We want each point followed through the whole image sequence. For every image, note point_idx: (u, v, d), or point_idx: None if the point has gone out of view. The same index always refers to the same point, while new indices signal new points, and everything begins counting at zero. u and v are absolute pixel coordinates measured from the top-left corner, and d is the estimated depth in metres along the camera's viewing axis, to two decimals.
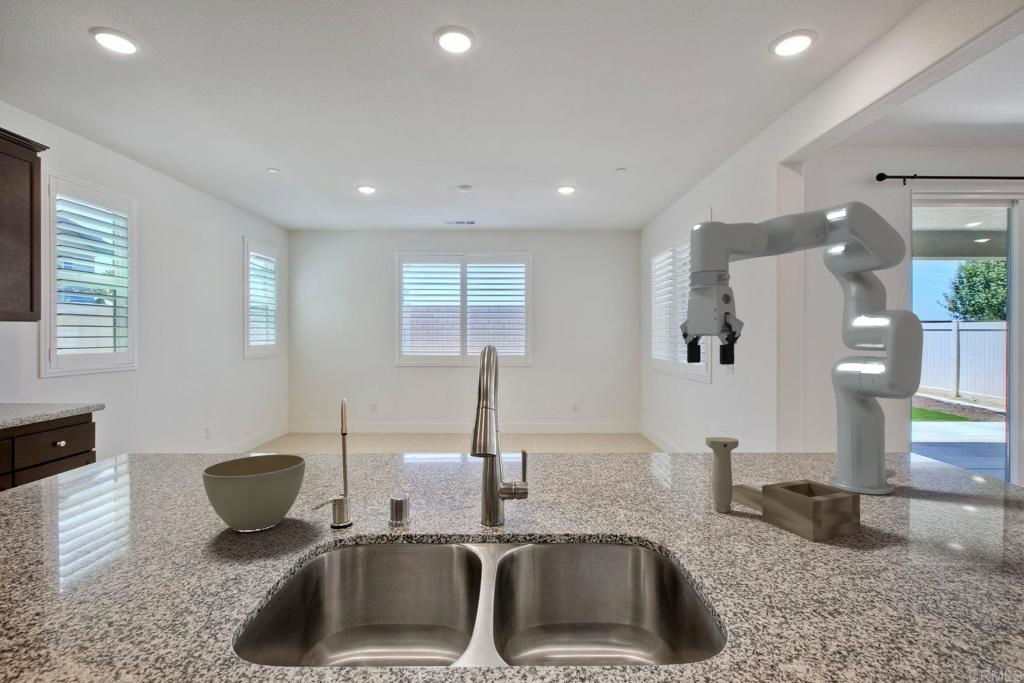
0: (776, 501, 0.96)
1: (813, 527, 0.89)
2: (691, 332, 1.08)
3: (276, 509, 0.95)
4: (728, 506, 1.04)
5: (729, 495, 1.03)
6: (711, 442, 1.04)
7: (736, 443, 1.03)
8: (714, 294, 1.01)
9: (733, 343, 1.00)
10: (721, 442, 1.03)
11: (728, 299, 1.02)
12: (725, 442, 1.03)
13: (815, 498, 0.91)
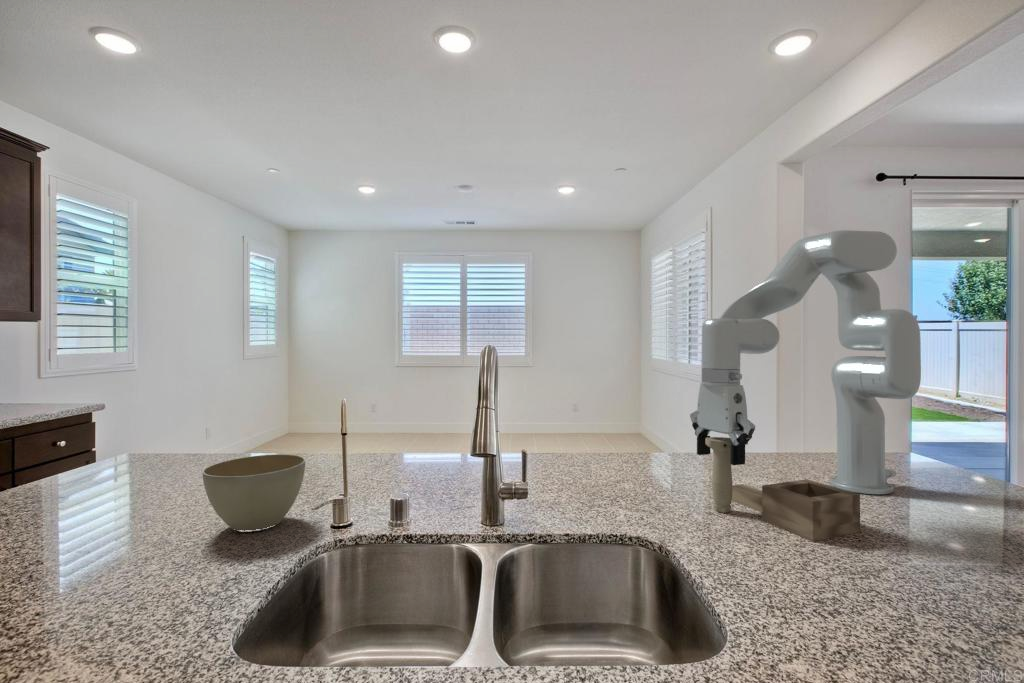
0: (776, 501, 0.96)
1: (813, 527, 0.89)
2: (701, 425, 1.07)
3: (276, 509, 0.95)
4: (728, 506, 1.04)
5: (729, 495, 1.03)
6: (711, 442, 1.04)
7: None
8: (725, 393, 1.01)
9: (744, 444, 0.99)
10: (721, 442, 1.03)
11: (739, 398, 1.01)
12: (725, 442, 1.03)
13: (815, 498, 0.91)
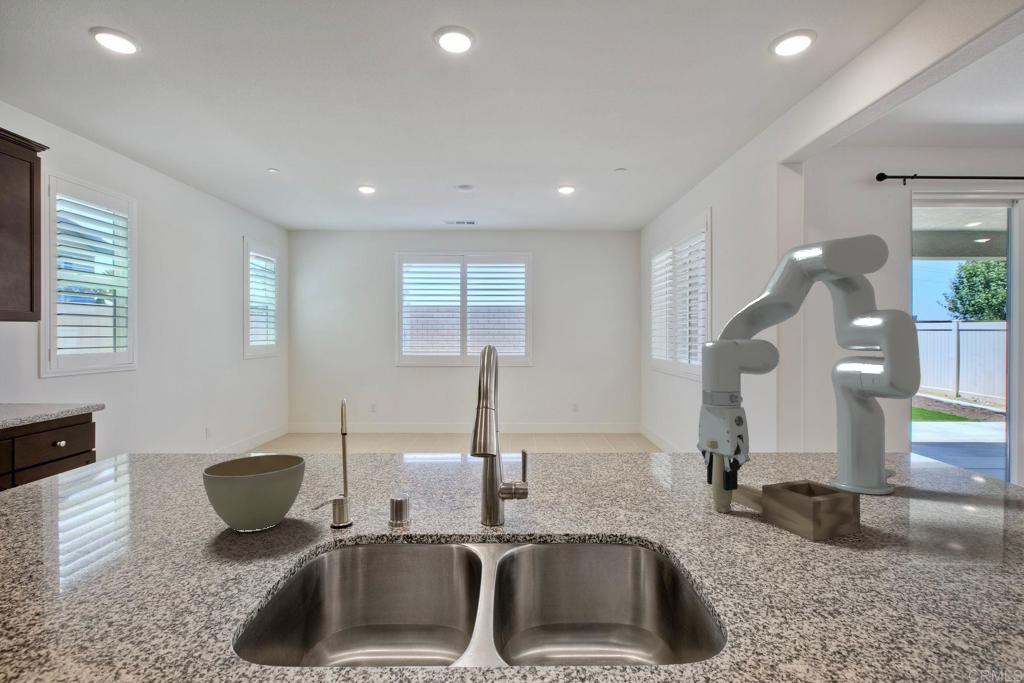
0: (776, 501, 0.96)
1: (813, 527, 0.89)
2: (703, 447, 1.07)
3: (276, 509, 0.95)
4: (728, 506, 1.04)
5: (729, 495, 1.03)
6: (711, 442, 1.04)
7: None
8: (726, 416, 1.01)
9: (735, 470, 1.02)
10: None
11: (740, 420, 1.02)
12: None
13: (815, 498, 0.91)
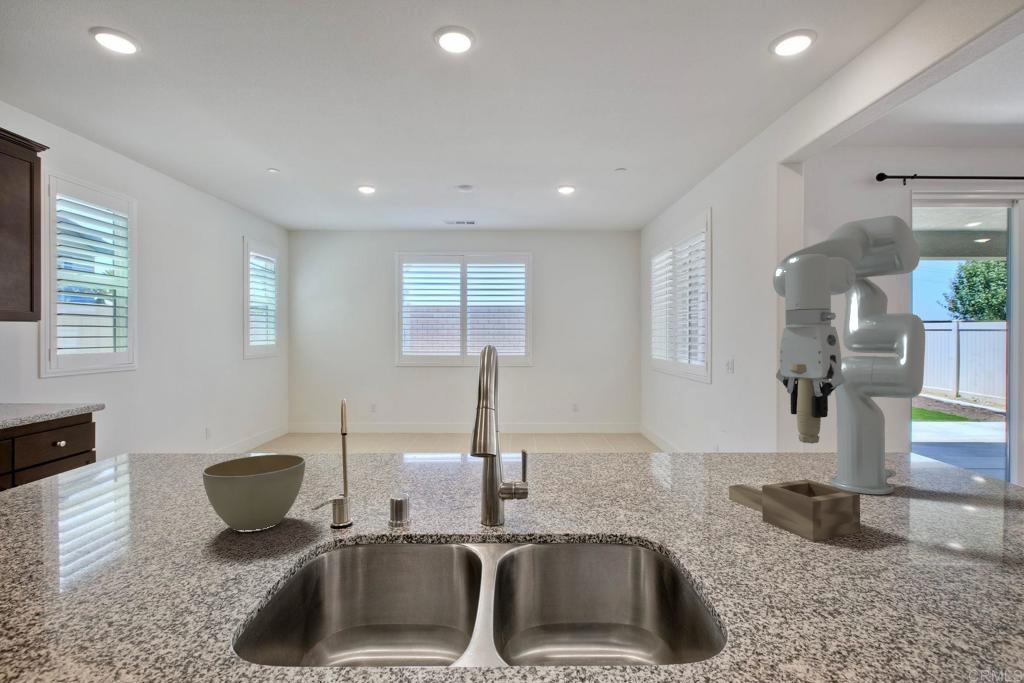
0: (776, 501, 0.96)
1: (813, 527, 0.89)
2: (786, 374, 0.98)
3: (276, 509, 0.95)
4: (816, 436, 0.95)
5: (817, 423, 0.94)
6: (798, 366, 0.95)
7: None
8: (818, 335, 0.92)
9: (826, 396, 0.93)
10: None
11: (832, 340, 0.92)
12: None
13: (815, 498, 0.91)
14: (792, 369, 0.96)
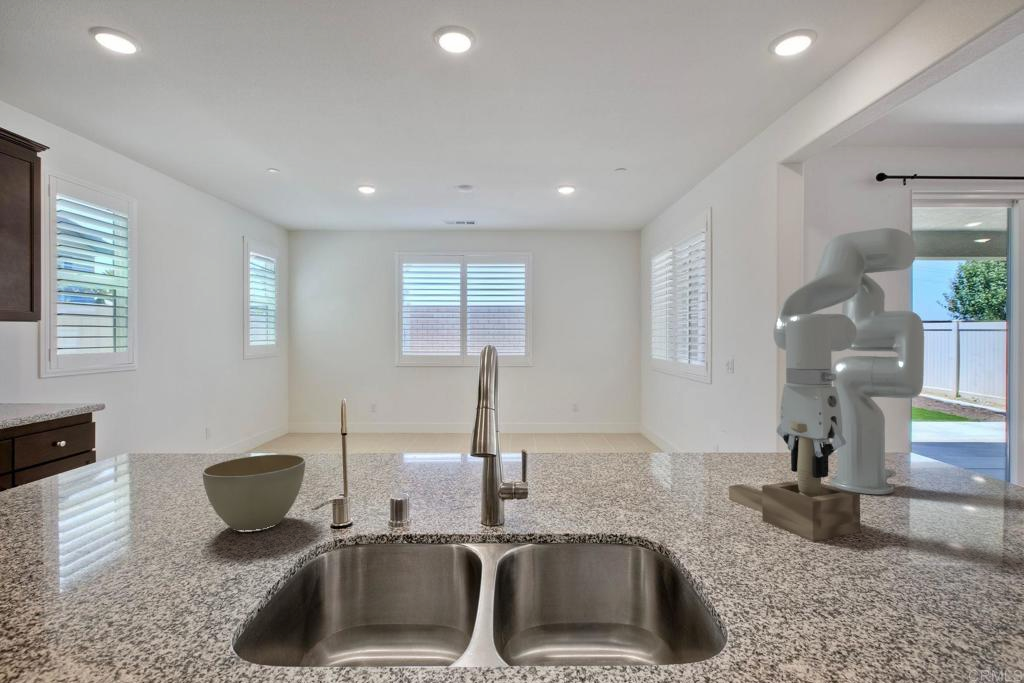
0: (776, 501, 0.96)
1: (813, 527, 0.89)
2: (786, 431, 0.98)
3: (276, 509, 0.95)
4: (817, 495, 0.95)
5: (818, 483, 0.94)
6: (798, 425, 0.95)
7: None
8: (818, 396, 0.92)
9: (827, 456, 0.93)
10: None
11: (833, 401, 0.92)
12: None
13: (815, 498, 0.91)
14: (793, 427, 0.96)
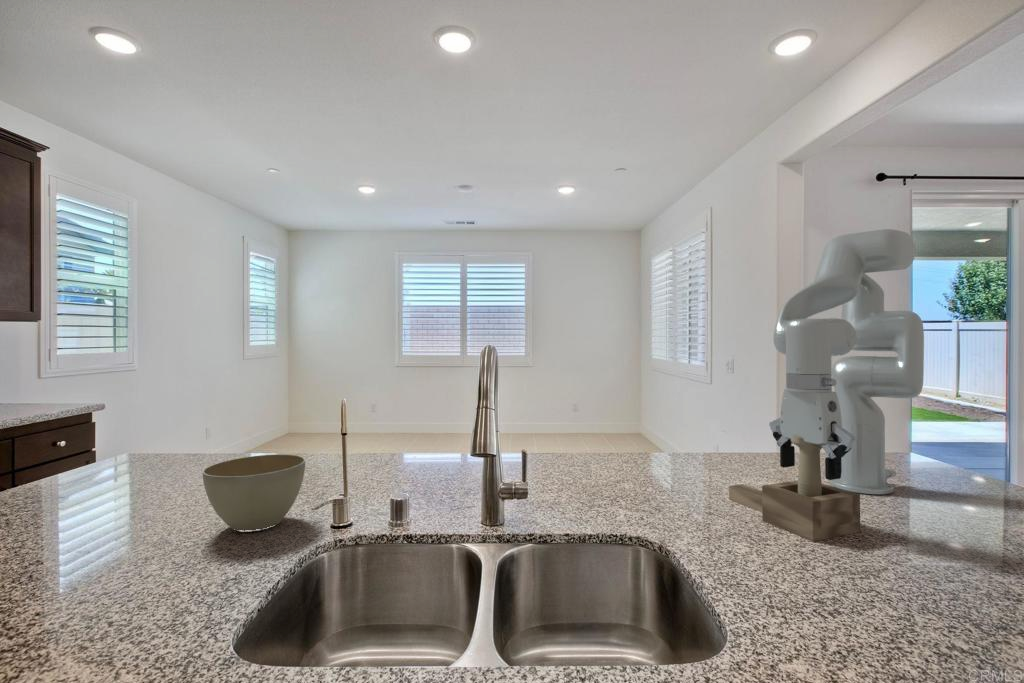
0: (776, 501, 0.96)
1: (813, 527, 0.89)
2: (786, 435, 0.98)
3: (276, 509, 0.95)
4: None
5: None
6: (800, 439, 0.95)
7: None
8: (818, 401, 0.92)
9: (841, 456, 0.91)
10: None
11: (833, 406, 0.92)
12: None
13: (815, 498, 0.91)
14: (794, 442, 0.96)
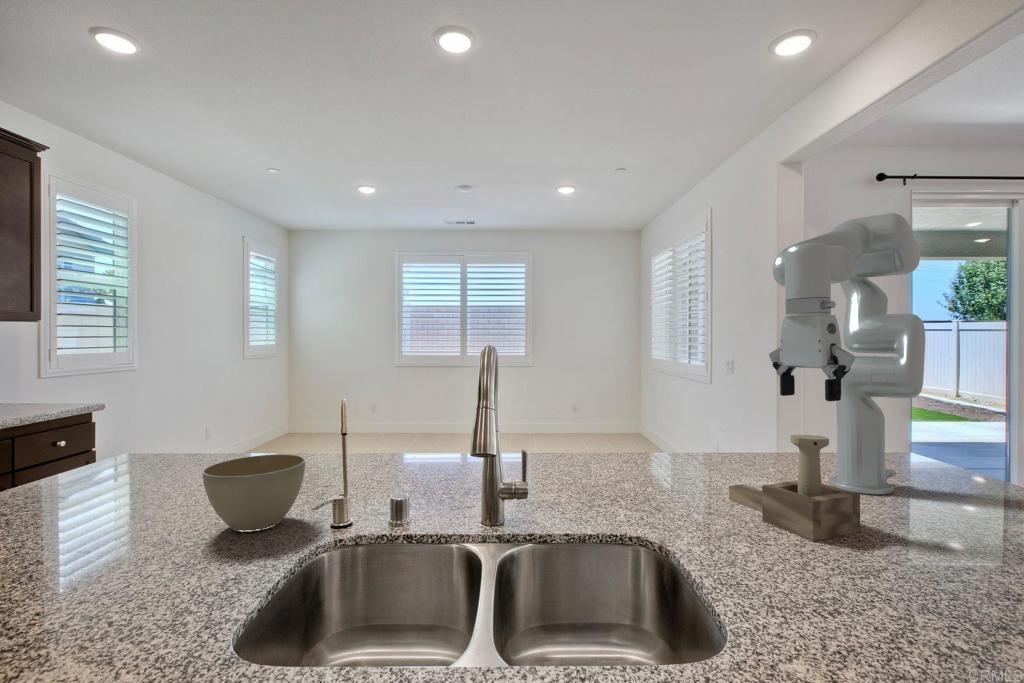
0: (776, 501, 0.96)
1: (813, 527, 0.89)
2: (786, 363, 0.98)
3: (276, 509, 0.95)
4: None
5: None
6: (799, 440, 0.95)
7: (827, 441, 0.94)
8: (818, 324, 0.92)
9: (841, 378, 0.91)
10: (811, 440, 0.94)
11: (832, 328, 0.93)
12: (815, 440, 0.94)
13: (815, 498, 0.91)
14: (793, 442, 0.96)
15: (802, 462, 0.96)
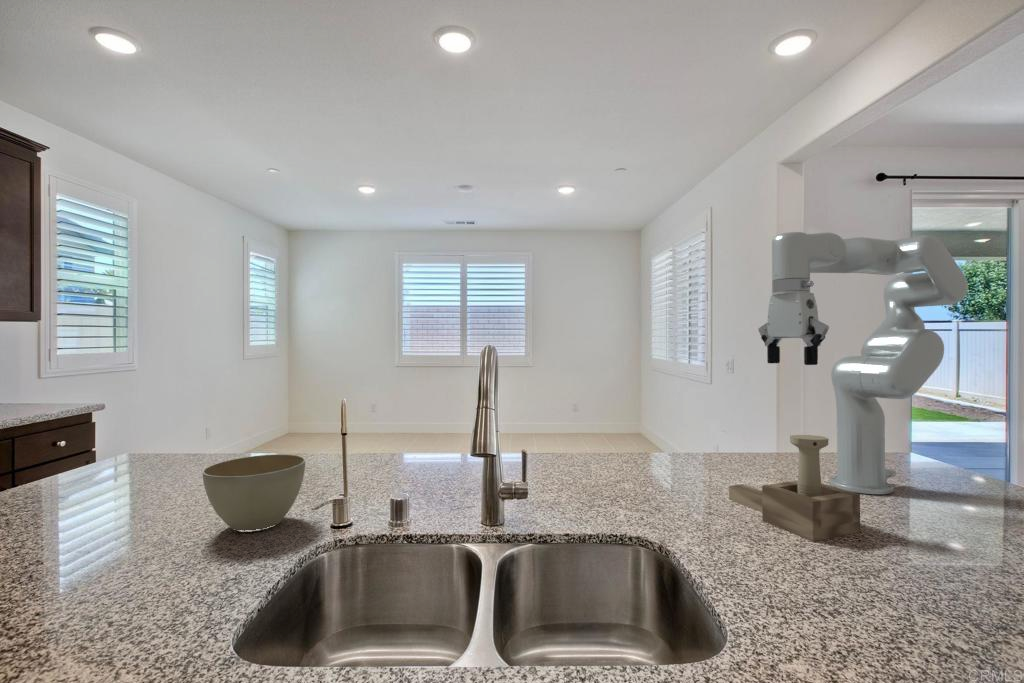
0: (776, 501, 0.96)
1: (813, 527, 0.89)
2: (772, 335, 1.16)
3: (276, 509, 0.95)
4: None
5: None
6: (799, 440, 0.95)
7: (826, 441, 0.94)
8: (798, 300, 1.09)
9: (817, 345, 1.08)
10: (810, 440, 0.94)
11: (811, 304, 1.10)
12: (815, 440, 0.94)
13: (815, 498, 0.91)
14: (793, 442, 0.96)
15: (802, 462, 0.96)
